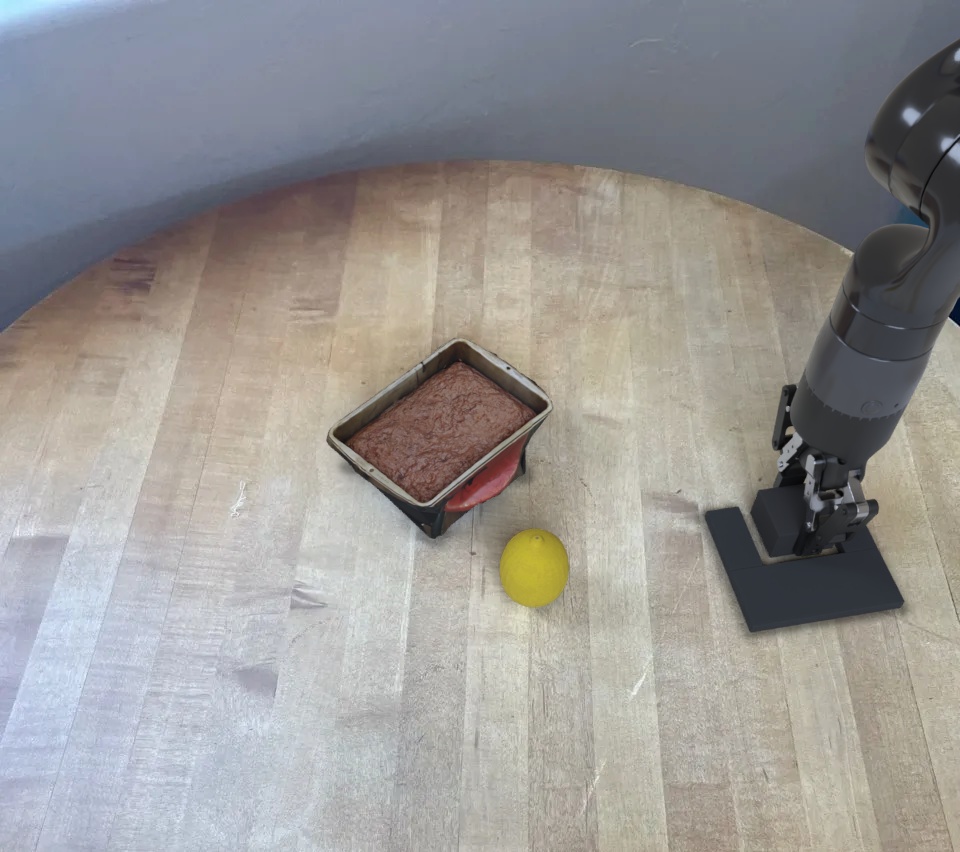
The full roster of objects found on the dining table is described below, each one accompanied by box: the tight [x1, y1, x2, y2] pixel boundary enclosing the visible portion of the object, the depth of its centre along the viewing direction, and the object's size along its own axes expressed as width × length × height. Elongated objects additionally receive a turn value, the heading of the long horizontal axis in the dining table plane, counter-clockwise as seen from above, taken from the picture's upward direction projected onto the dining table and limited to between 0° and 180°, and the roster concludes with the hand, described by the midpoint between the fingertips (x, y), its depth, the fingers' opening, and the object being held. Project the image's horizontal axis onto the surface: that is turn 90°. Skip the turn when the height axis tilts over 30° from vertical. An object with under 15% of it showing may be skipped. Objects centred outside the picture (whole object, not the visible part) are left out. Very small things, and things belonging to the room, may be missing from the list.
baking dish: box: [325, 337, 554, 540], centre depth 86 cm, size 14×18×10 cm
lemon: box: [499, 528, 570, 608], centre depth 79 cm, size 6×6×8 cm
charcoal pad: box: [704, 506, 905, 634], centre depth 84 cm, size 13×12×2 cm
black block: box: [749, 482, 835, 559], centre depth 84 cm, size 6×5×3 cm
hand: (793, 525), depth 84 cm, fingers closed on black block, 5 cm apart
